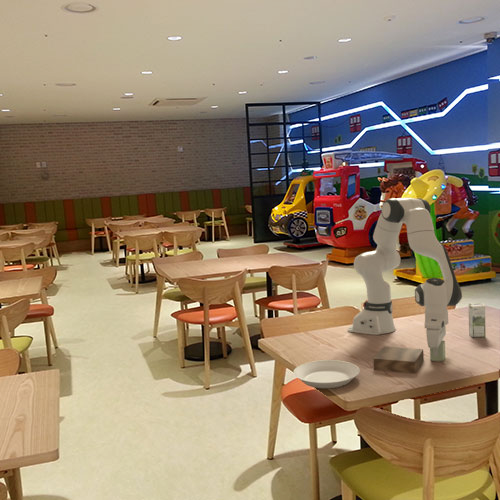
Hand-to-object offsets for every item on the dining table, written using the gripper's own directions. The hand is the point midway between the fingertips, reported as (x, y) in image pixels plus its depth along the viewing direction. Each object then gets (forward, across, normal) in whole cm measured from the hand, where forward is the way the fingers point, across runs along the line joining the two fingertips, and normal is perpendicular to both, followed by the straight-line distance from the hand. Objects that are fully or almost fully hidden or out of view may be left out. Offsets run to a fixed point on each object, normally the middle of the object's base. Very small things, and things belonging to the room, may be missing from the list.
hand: (437, 352), depth 232 cm
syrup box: (+3, -36, +11) cm, 38 cm away
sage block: (+3, 0, 0) cm, 3 cm away
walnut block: (+3, +11, -13) cm, 17 cm away
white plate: (+3, +34, -35) cm, 49 cm away
